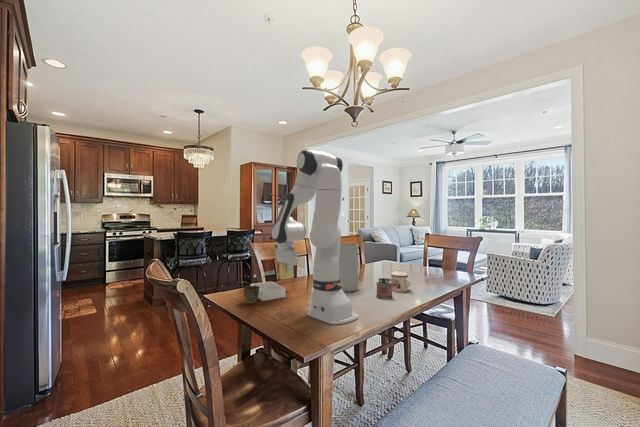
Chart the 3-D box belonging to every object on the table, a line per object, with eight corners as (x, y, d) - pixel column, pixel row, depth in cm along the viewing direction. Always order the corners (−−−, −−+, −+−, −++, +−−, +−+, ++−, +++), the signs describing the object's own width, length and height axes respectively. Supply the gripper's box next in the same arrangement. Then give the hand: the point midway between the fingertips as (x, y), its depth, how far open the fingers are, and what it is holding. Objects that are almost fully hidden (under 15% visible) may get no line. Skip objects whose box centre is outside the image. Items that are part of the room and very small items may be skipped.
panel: (293, 277, 158) (293, 263, 158) (282, 279, 154) (281, 264, 154) (291, 276, 160) (291, 262, 160) (280, 278, 156) (279, 264, 156)
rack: (285, 297, 148) (285, 288, 147) (261, 301, 141) (261, 292, 141) (271, 289, 163) (271, 281, 162) (249, 292, 156) (249, 284, 156)
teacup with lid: (387, 289, 161) (387, 268, 161) (398, 287, 166) (398, 266, 166) (404, 294, 151) (404, 272, 151) (415, 292, 156) (415, 270, 156)
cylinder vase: (346, 285, 171) (346, 243, 171) (362, 289, 162) (362, 244, 162) (331, 288, 163) (331, 244, 163) (347, 293, 154) (347, 246, 153)
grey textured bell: (255, 306, 133) (255, 289, 133) (240, 305, 134) (240, 288, 134) (261, 301, 140) (261, 285, 140) (247, 300, 142) (247, 284, 142)
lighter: (375, 297, 146) (375, 277, 146) (377, 295, 149) (377, 276, 149) (392, 299, 143) (391, 279, 143) (392, 297, 146) (392, 277, 146)
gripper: (300, 247, 150) (301, 273, 150) (283, 244, 167) (284, 268, 167) (289, 248, 147) (290, 275, 147) (273, 245, 164) (274, 269, 164)
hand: (286, 271), depth 157 cm, fingers closed on panel, 2 cm apart
